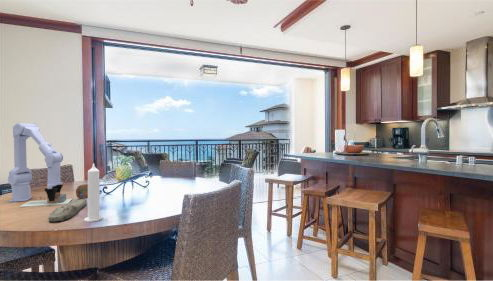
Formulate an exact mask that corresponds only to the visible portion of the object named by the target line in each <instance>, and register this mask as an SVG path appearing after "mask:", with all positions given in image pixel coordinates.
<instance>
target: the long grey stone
mask: <svg viewBox="0 0 493 281" xmlns="http://www.w3.org/2000/svg"><path fill="white" fill-rule="evenodd" d="M87 204H88V200H87V199H74V200H72V201H71V202H69V203H68V204H65V205H60V207H57V208H55V209H54V210H52V212H51V213H50V214H49V216H48V218H47V219H48V221H49V222H52V223H53V222H61V221H62V222H63V221H65V220H67V219H70V218H71V217H73V216H75V215H76V214H77V213H78V212H79V211H80V210H82V208H84V207H85V206H86V205H87Z"/></svg>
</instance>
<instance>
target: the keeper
mask: <svg viewBox="0 0 493 281" xmlns="http://www.w3.org/2000/svg"><path fill="white" fill-rule="evenodd" d="M60 195H61V191H60V192H56V194H55V200H54V201H49V199H48V195H47V194H46V196H47V197H46V200H47V203H48V202H58V196H60Z"/></svg>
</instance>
